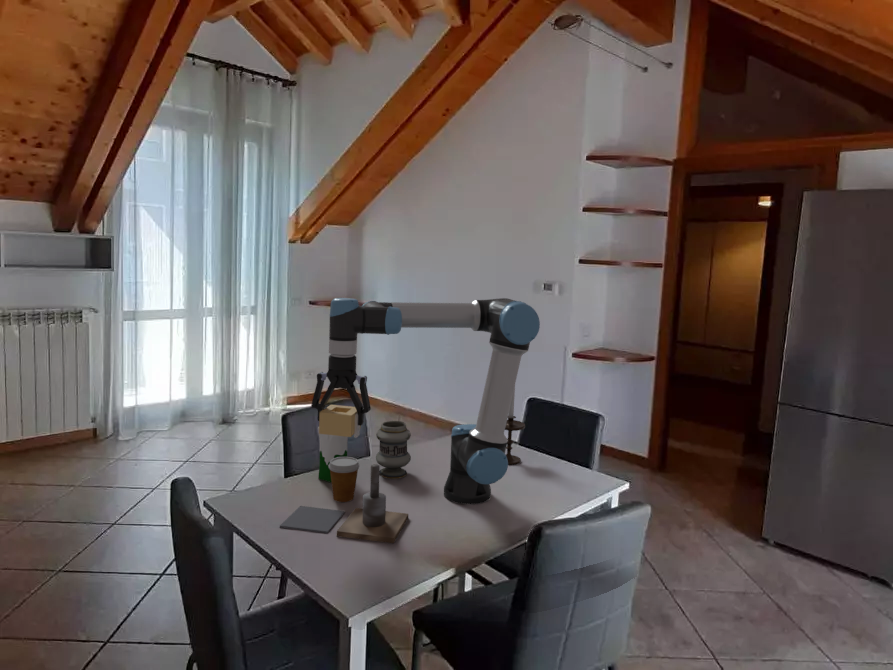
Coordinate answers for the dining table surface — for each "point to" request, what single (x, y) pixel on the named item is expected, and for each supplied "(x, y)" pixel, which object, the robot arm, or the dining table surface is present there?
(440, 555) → the dining table surface
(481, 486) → the robot arm
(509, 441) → the candlestick
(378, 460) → the apothecary jar
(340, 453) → the milk carton
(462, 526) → the dining table surface
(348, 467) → the disposable coffee cup
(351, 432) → the collar
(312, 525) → the mat
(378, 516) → the stand
